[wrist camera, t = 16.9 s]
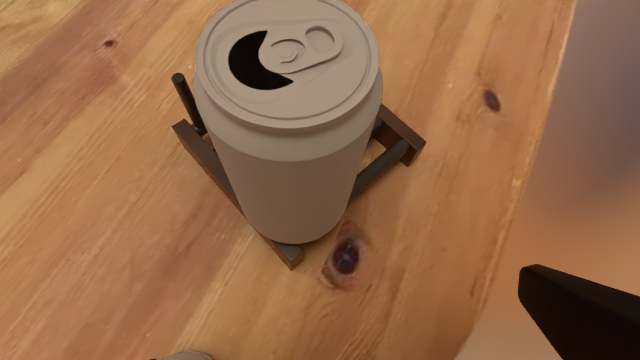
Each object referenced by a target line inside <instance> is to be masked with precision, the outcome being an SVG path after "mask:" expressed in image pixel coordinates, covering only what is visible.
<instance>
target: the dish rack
mask: <svg viewBox="0 0 640 360" xmlns="http://www.w3.org/2000/svg"><path fill="white" fill-rule="evenodd" d="M171 79H172V82H173V84H174V86H175V88H176V90H177V92H178V94H179V96H180V98H181V100H182V102H183V104H184V106H185V108H186V110H187V112H188V114H189V116H190V118H191V120H192V122H193V124H192V125H190V124H189V123H188V122H187V121H186V120H185V119H183V120H182V121H180V122H178V123H177V124H175V125H174V126H172V128H173V130H174V131H175V133H176V135H177V136H178V138H179V140H180V141H181V143H182V144H183V146H184V147H185V148H186V149H187V151H188V152H189V153H190V154H191V155H192V156H193V158H194V159H195V160H196V161H197V162H198V163H199V164H200V166H201V167H202V168H203V169H204V170H205V171H206V173H207V174H208V175H209V176H210V177H211V178H212V180H213V181H214V182H215V183H216V184H217V185H218V186H219V188H220V189H221V190H222V191H223V192H224V193H225V195H226V196H227V197H228V198H229V199H230V200H231V201H232V203H233V204H234V205H235V206H236V207H237V208H238V210H239V211H240V212H241V213H242V214H243V215H244V213H243V210H242V208H241V206H240V204H239V201H238V199H237V197H236V195H235V192H234V190H233V188H232V185H231V183H230V181H229V179H228V176H227V174H226V172H225V170H224V167H223V165H222V163H221V161H220V158H219V156H218V154H217V152H216V149H214V150H212V149H211V148H210V146H209V145H208V144H207V143H206V142H205V141H204V140H203V139H202V136H204V135H205V134H207V133H208V131H207V129H206V127H205V124H204V122H203V120H202V118H201V115H200V113H199V111H198V109H197V106H196V102H195V99H194V97H193V95H192V92H191V90H190V88H189V86H188V83H187V81H186V79H185V77H184V75H183V74H181V73H176V74H174V75H173V76H172V78H171ZM372 135H373V136H374V137H375V138H376V139H377V140H378V141H379V142H380V143H382V144H383V145H384V146H385V147H386V148H387V150H386V151H385V152H384V153H382V154H381V155H380V156H379V157H378V158H377V159H375V160H374V161H373V162H372V163H371V164H369V165H368V166H367V167H366V168H365V169H364V170H362V171H361V172H360V173H359V174H358V175H357V176H356V179H355V182H354V185H353V188H352V191H351V194H350V197H349V200H348V203H349V202H350V201H352V200H353V199H354V198H355V197H356V196H357V195H358V194H360V193H361V192H362V191H363V190H364V189H365V188H366V187H368V186H369V185H370V184H371V183H372V182H373V181H374V180H376V179H377V178H378V177H379V176H380V175H381V174H382V173H384V172H385V171H386V170H387V169H388V168H389V167H390V166H392V165H393V164H394V163H395V162H396V161H397V160H398V159H399V160H400V161H401V162H403V163H404V164H405V165H406V166H407V167H408V166H410V165H411V164H412V163H413V162H414V161H415V160H416V159H417V157H418V156H419V154H420V152H421V151H422V149H423V148H424V146H425V144H426V141H425V140H424V139H422V138H421V137H420V136H419V135H418V134H417V133H415V132H414V131H413V130H412V129H411V128H410V127H408V126H407V125H406V124H405V123H404V122H403V121H401V120H400V119H399V118H398V117H397V116H396V115H395V114H393V113H392V112H391V111H390V110H389V109H388V108H386V107H385V106H384V105H383V104H382V103H381V104H380V107H379V110H378V113H377V116H376V119H375V122H374V125H373V128H372V131H371V134H370V136H372ZM348 203H347V204H348ZM244 216H245V215H244ZM245 218H246V217H245ZM246 219H247V218H246ZM257 232H258V231H257ZM258 233H259V232H258ZM259 234H260V235H261V236H262V237H263V238H264V240H265V241H266V242H267V243H268V244H269V245H270V247H271V248H272V249H273V250H274V251H275V252H276V253H277V255H278V256H279V257H280V258H281V259H282V260H283V262H284V263H285V264H286V265H287V266H288V267H289V269H290V270H293V269H294V268H295V267H297V266H298V265H299V264H300V263H301V262H302V261H303V250H302V249H301V248H300V247H299V246H300V245H301V244H302V243H300V244H287V243H281V242H277V241H274V240H271V239H269V238H267V237H265V236H264V235H262V234H261V233H259Z"/></svg>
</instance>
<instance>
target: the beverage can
mask: <svg viewBox="0 0 640 360" xmlns="http://www.w3.org/2000/svg"><path fill="white" fill-rule="evenodd" d="M195 68H196V71H195V75H194V80H193V90H194V98H195V102H196V106H197V109H198V111H199V113H200V115H201V118H202V120H203V122H204V124H205V127H206V129H207V131H208V133H209V136H210V138H211V140H212V143H213V145H214V147H215V149H216V152H217V154H218V156H219V158H220V161H221V163H222V165H223V167H224V170H225V172H226V174H227V176H228V179H229V181H230V183H231V185H232V188H233V190H234V192H235V195H236V197H237V199H238V201H239V204H240V206H241V208H242V210H243V213H244V215H245V217H246V218H247V220H248V221H249V223H250V224H251V225H252V226H253V227H254V228H255V229H256V230H257V231H258V232H259V233H261V234H262V235H264V236H265V237H267V238H269V239H271V240H274V241H277V242H281V243H287V244H300V243H306V242H310V241H313V240H316V239H318V238H320V237H322V236H323V235H325V234H327V233H328V232H329V231H330V230H332V229H333V228H334V227H335V226H336V224H337V223H338V222H339V221H340V219H341V218H342V216H343V214H344V212H345V209H346V206H347V203H348V200H349V197H350V194H351V191H352V188H353V185H354V182H355V179H356V176H357V173H358V170H359V167H360V164H361V161H362V158H363V155H364V152H365V149H366V146H367V143H368V140H369V137H370V134H371V131H372V128H373V125H374V122H375V119H376V116H377V113H378V110H379V107H380V104H381V100H382V95H383V79H382V73H381V69H380V66H379V48H378V44H377V41H376V38H375V36H374V34H373V32H372V30H371V28H370V27H369V25H368V24H367V23H366V22H365V20H364V19H363V18H362V17H361V16H360V15H359V14H358V13H357V12H356V11H354V10H353V9H352V8H351V7H349V6H348V5H346V4H344V3H343V2H341V1H339V0H234V1H232V2H230V3H228V4H227V5H225V6H224V7H222V8H221V9H220V10H218V11H217V12H216V13H215V14H214V15H213V16H212V17H211V18H210V19H209V20H208V22H207V23H206V24H205V26H204V27H203V29H202V31H201V33H200V35H199V38H198V41H197V45H196V48H195Z"/></svg>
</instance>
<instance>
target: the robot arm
mask: <svg viewBox="0 0 640 360" xmlns="http://www.w3.org/2000/svg"><path fill="white" fill-rule="evenodd" d="M518 297H519V300H520V302H521V303H522V305H523V306H524V308H525V309H526V310H527V312H528V313H529V314H530V316H531V317H532V319H533V320H534V321H535V322H536V324H537V326H538V327H539V328H540V330H541V331H542V332H543V334H544V335H545V337H546V338H547V339H548V341H549V342H550V343H551V345H552V346H553V347H554V349H555V350H556V351H557V353H558V354H559V355H560V357H561V358H562V359H563V360H640V297H639V296H636V295H633V294H630V293H627V292H624V291H620V290H617V289H614V288H611V287H608V286H604V285H602V284H599V283H595V282H592V281H589V280H586V279H583V278H580V277H577V276H573V275H570V274H567V273H564V272H561V271H558V270H555V269H551V268H548V267H545V266H542V265H539V264H534V265H530V266H526V267H523V268H522V269H521V270H520V273H519V286H518ZM151 360H156V359H151Z"/></svg>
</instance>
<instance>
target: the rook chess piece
mask: <svg viewBox="0 0 640 360" xmlns="http://www.w3.org/2000/svg"><path fill="white" fill-rule="evenodd" d="M163 360H212V359H211V358H210V357H209V356H208V355H206V354H203V353H199V352H196V351H192V350H191V351H185V352H179V353H175V354H173V355H170V356H168V357H166V358H165V359H163Z"/></svg>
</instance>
